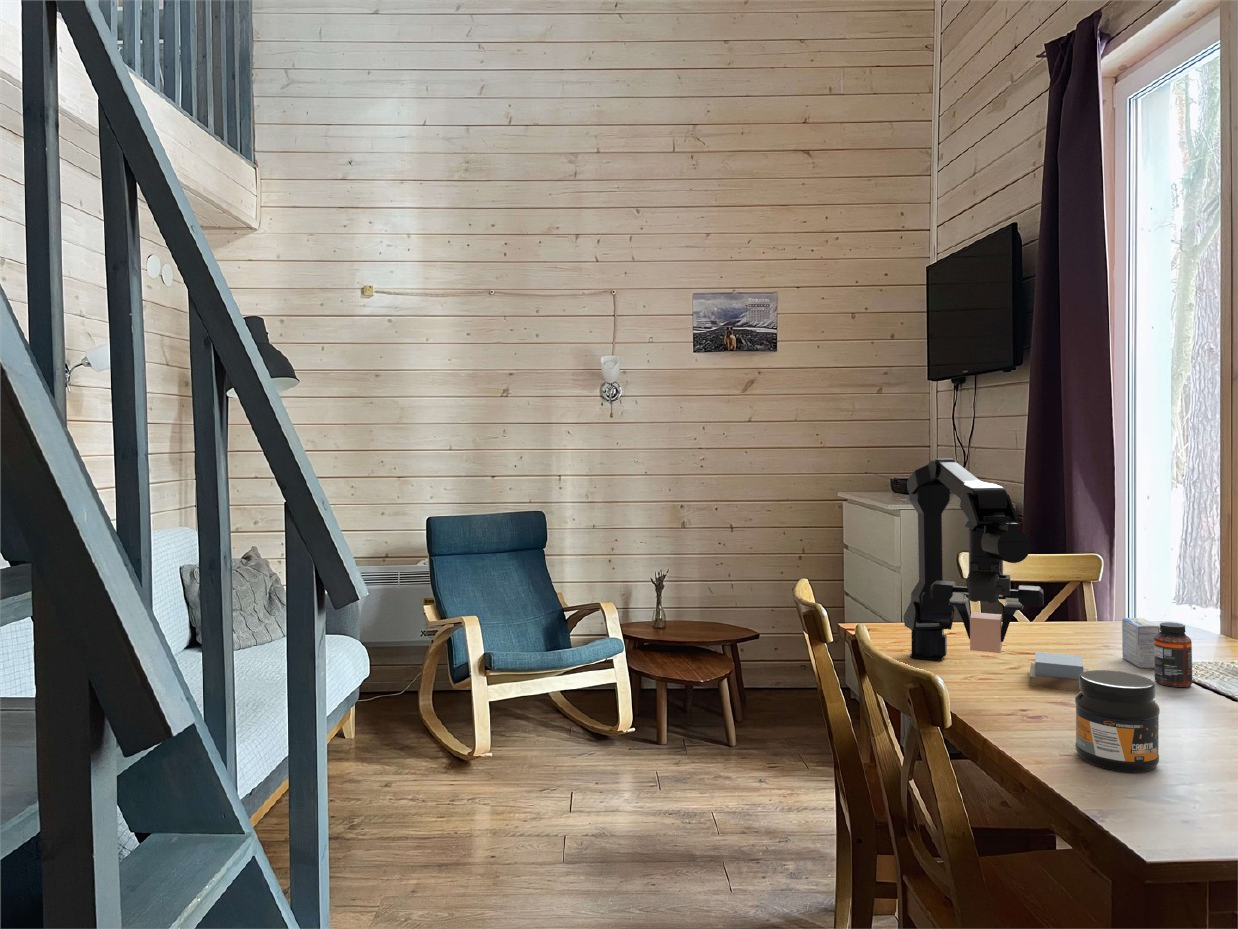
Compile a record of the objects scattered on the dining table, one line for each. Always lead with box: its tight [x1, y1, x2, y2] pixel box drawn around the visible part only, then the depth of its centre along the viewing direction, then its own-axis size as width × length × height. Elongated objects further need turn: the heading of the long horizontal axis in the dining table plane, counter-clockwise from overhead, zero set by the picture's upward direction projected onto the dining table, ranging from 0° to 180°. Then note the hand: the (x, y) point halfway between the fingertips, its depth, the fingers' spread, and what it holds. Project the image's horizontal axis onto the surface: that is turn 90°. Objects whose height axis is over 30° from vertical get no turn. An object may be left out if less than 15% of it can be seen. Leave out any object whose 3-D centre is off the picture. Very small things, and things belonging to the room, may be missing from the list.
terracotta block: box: [969, 611, 1003, 654], centre depth 152 cm, size 5×5×6 cm
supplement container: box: [1074, 669, 1161, 773], centre depth 121 cm, size 10×10×12 cm
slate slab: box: [1034, 651, 1084, 679], centre depth 160 cm, size 8×8×2 cm
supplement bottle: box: [1154, 621, 1193, 688], centre depth 157 cm, size 6×6×11 cm
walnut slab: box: [1029, 662, 1089, 692], centre depth 159 cm, size 10×10×2 cm
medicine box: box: [1121, 617, 1161, 669], centre depth 171 cm, size 8×4×9 cm, turn 168°
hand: (986, 640), depth 152 cm, fingers closed on terracotta block, 5 cm apart
